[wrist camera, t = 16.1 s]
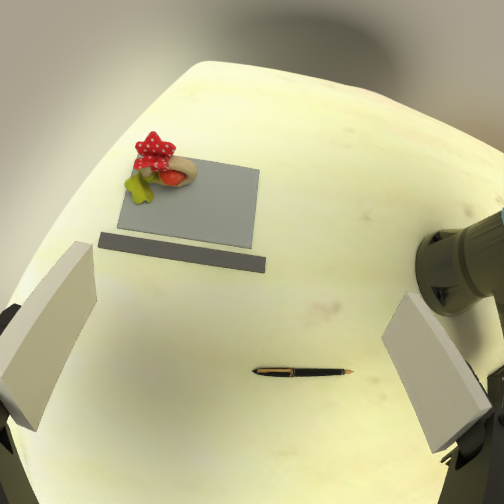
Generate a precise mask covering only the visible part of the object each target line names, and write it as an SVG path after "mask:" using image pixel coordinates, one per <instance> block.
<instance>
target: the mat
mask: <svg viewBox="0 0 504 504" xmlns="http://www.w3.org/2000/svg"><path fill="white" fill-rule="evenodd" d="M139 157H141V158H142V157H143V156H141V155H140V154H139V153H138V155H137V158H136V159H138V158H139ZM183 158H186V157H183ZM186 159H188V160H190V161H192V162H193V163H194V164H195V165H196V166H197V169H198V173H197V177H196V179H195V180H194V181H193V182H191V183H189V184H186V185H183V186H182V187H180V188H179V187H175V186H165V185H160V184H156V183H149V182H148V184H149V186H150V188H151V190H152V192H153V194H154V198H153V200H152V202H150V203H149V202H147V201H143V202H142V203H140V204H136V203H135V202H133V199H132V193H131V192H130V191H128V190H127V191H126V194H125V198H124V201H123V205H122V209H121V212H120V216H119V220H118V224H117V228H119V229H125V230H132V231H138V232H145V233H151V234H158V235H164V236H171V237H177V238H184V239H190V240H197V241H203V242H210V243H216V244H223V245H229V246H236V247H242V248H249V249H251V248H252V239H253V229H254V219H255V210H256V200H257V190H258V181H259V171H260V170H257V169H252V168H247V167H241V166H236V165H230V164H224V163H218V162H212V161H206V160H200V159H193V158H186ZM137 172H138V171H137V170H136V169H134V167H133V171H132V174H131V177H132V176H133V175H135V174H136V173H137ZM131 177H130V178H131ZM98 248H104V249H110V250H116V251H122V252H128V253H134V254H140V255H146V256H153V257H159V258H165V259H172V260H178V261H185V262H191V263H198V264H204V265H211V266H218V267H225V268H231V269H238V270H245V271H252V272H259V273H265V263H266V257H260V256H253V255H247V254H240V253H234V252H227V251H221V250H214V249H208V248H201V247H194V246H188V245H181V244H175V243H169V242H162V241H156V240H149V239H143V238H136V237H130V236H123V235H117V234H111V233H104V232H101V234H100V239H99V243H98Z"/></svg>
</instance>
